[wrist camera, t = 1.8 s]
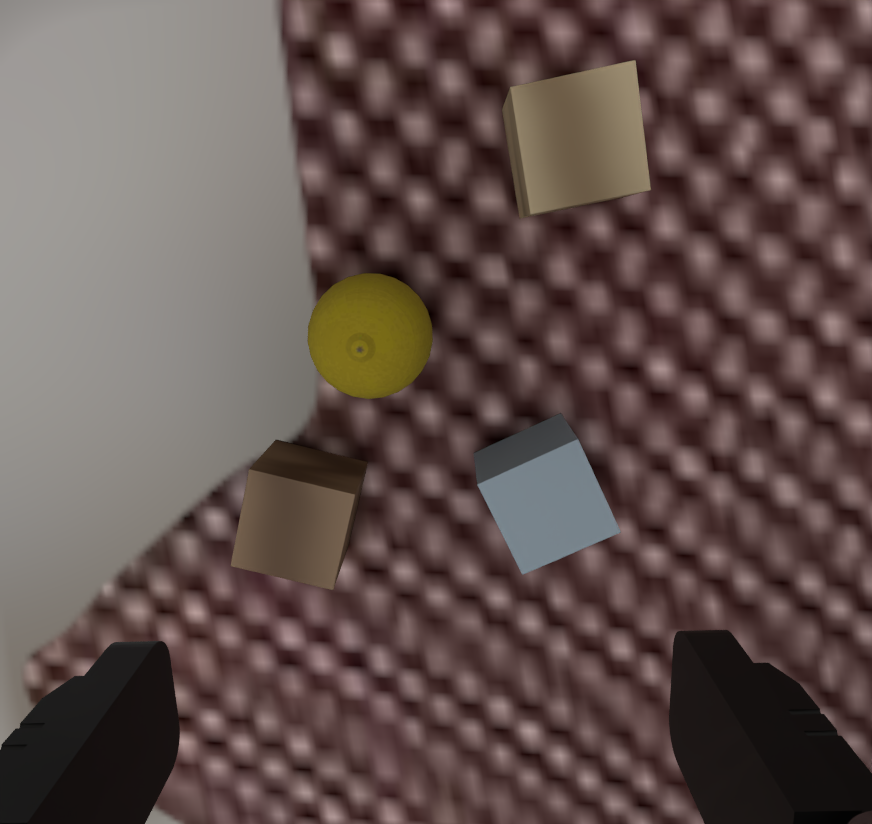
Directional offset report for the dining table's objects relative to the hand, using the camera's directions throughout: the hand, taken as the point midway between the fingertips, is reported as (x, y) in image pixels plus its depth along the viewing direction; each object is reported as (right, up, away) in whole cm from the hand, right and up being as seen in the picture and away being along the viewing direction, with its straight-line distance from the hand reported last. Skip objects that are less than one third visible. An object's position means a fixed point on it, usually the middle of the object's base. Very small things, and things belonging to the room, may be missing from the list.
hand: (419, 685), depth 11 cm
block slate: (+6, +1, +26) cm, 26 cm away
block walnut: (-6, 0, +26) cm, 27 cm away
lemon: (-3, +9, +24) cm, 26 cm away
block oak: (+6, +17, +22) cm, 28 cm away
